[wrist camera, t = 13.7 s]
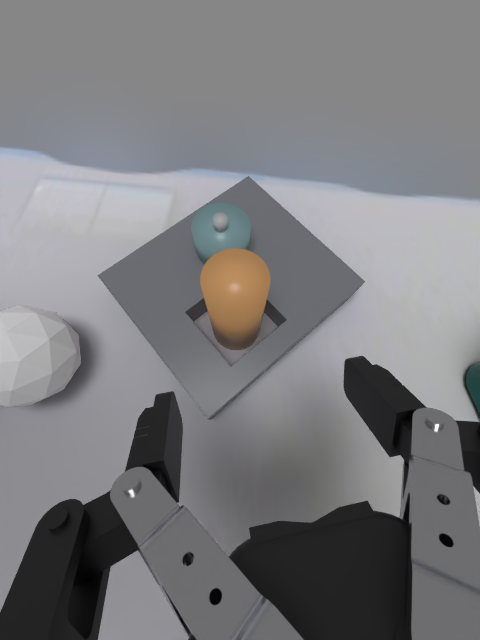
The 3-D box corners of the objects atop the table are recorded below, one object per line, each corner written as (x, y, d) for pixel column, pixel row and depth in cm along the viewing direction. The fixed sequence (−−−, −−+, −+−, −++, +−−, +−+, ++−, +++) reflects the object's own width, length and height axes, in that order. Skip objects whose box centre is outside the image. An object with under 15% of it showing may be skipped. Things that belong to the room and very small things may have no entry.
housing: (211, 418, 24) (201, 418, 18) (111, 289, 28) (73, 250, 22) (352, 295, 28) (387, 257, 22) (247, 197, 32) (250, 140, 26)
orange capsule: (233, 359, 26) (230, 325, 17) (204, 324, 27) (185, 274, 18) (268, 330, 27) (285, 282, 18) (239, 297, 28) (239, 236, 19)
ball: (62, 351, 29) (27, 280, 25) (112, 379, 25) (81, 301, 21) (-25, 402, 24) (-91, 324, 19) (21, 447, 20) (-46, 362, 16)
